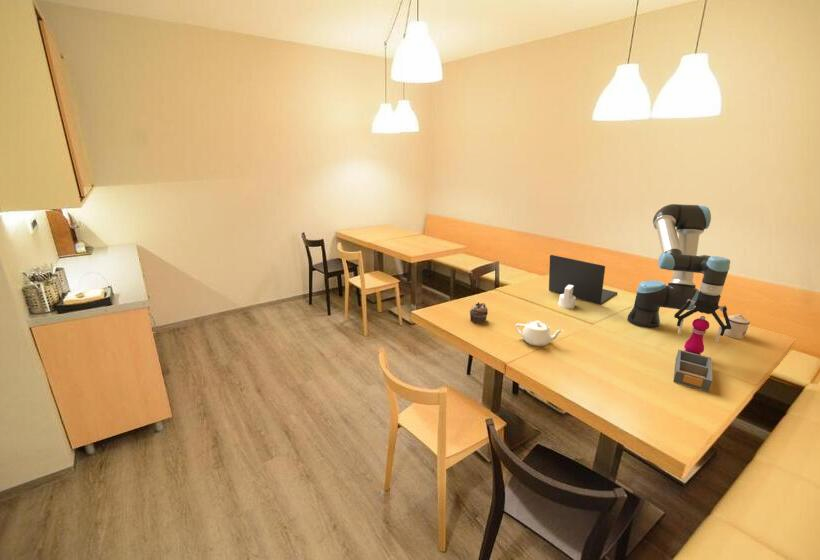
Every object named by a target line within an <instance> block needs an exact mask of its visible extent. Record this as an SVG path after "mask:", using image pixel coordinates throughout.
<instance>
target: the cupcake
mask: <svg viewBox="0 0 820 560" xmlns="http://www.w3.org/2000/svg"><path fill="white" fill-rule="evenodd" d="M487 317H488V307H487V306H486V303H485V302H481V303H480V302H477V303H475V304H474V305H473V306H472V307H471V309H470V310H469V318H470V321H471V322H473V323H474V324H477V323H478V324H483V323H485V322H486V320H487Z"/></svg>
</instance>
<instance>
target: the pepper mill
mask: <svg viewBox="0 0 820 560" xmlns="http://www.w3.org/2000/svg"><path fill="white" fill-rule="evenodd" d="M691 324H692V328H691V332H692V333H691V336H690V337H689V338H688V339H687V340H686V341H685V343H684V345H683V347H684V350H683V351H687V352H691V353H695V354H699V355H702V354H703V352H704V351H705V344H704V336H705V335H706V332H707V330H708V329H709V328H710V322H709V321H708V320H706V316H704V315H701V316H700V317H699V318H695V319H694V320H693V321H692V322H691Z"/></svg>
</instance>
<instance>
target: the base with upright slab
mask: <svg viewBox="0 0 820 560" xmlns="http://www.w3.org/2000/svg"><path fill="white" fill-rule="evenodd" d="M573 287H574V286H573V285H568V286H567V287H566V288H565V290H564V294H559V299H558V303H557V305H558V307H560V308H563V309H567V310H568V309H569V310H570V309H571V310H572V309H574V308H575V305H576V299H577V298H576V297H575V296H573V295H572V293H573Z"/></svg>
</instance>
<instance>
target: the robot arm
mask: <svg viewBox="0 0 820 560" xmlns="http://www.w3.org/2000/svg"><path fill="white" fill-rule="evenodd" d="M711 220H712V213H711V210H710V209H709V207H708V206H706V205H698V204H679V203H678V204H677V203H676V204H675V203H672V204H667V205H664V206H663V207H661V208H660V209H658V210H657V211H656V213H655V214H654V216H653V219H652V224H653V227H654V229H655V230H656V232H657V235H658V239H659V244H660V249H661V252H662V253H660V255H659V257H658V260H657V262H658V265H657V266H658V267H659V269H661V270H667V271H673V273H672V279H671V280H670V281H668V282H667V283H668V284H667V285H666V283H665V282H663V281H658V280H654V279H653V280H652V279H651V280H644V281H640V282H639V284H638V287H637V289H636V296H635V300H634V304H633V308H632V309H631V311H630V312H629V313H628V314H627V318H626V319H627V322H628V323H629V324H631V325H634V326H637V327H639V328H645V329H658V328H659V327H660V324H661V319H660V314H659V313H660V308H666V309H672V310H678V311H676V313H675V314H673V315H674V319H677V323H676V326H677V327H678V331H677V334H678V335H681V333H682V332H681V331H682V328H683V325H684V319H686V318H688V317H689V316H691V315H694V314H695V313H697V312H699V313H701V314H706V315H712V317H713V318H714V319H715V320H716V323H718V325H719V327H718V330H717V333H716V336H715V340H714V341H715V343H716V344H717V343H719V340H720V337H724V336H725V334H724V332H725V330H726V329H731V324H730V321H729V318H728V316H729V315H728V312H727V311H728V307H727V306H726V305H723V306H722V305H719V303H720V300H721V294H722V293H723V289H724V286H725V284H726V283H725V282H726V280H727V277H728V273H729V271H730V269H731V267H730V265H731V260H730V259H729V258H727V257H724V256H723V257H722V256H715V255H713V256H711V255H707V254H701V255H697V254H698V248H699V243H700V242H699V240H700V236H701V235H702V234H703V233H704V232H705V230H707V229H708V228H709V227H710V224H711ZM695 273H697V274H703V276H702V280H701V282H700V283H701V284H700V288H699V289H698V288H696V284H695V283H694V282H693V281H694V280H693V279H694V274H695ZM717 310H719V311H720V312H722V315H723V318H724V320H725V321H722V319H721V318H720V317H719V315H718V313H717V312H716V311H717ZM685 311H687V312H685ZM684 312H685V313H684ZM724 322H725V323H726V324H727V325H725V323H724Z"/></svg>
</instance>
